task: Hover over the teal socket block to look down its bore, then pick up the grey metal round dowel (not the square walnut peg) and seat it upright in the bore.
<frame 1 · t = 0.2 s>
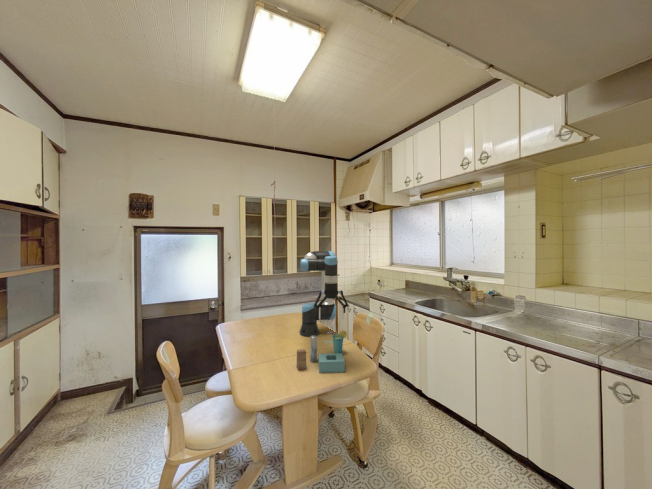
hand: (331, 318, 148), 27 cm above the table, fingers open, 13 cm apart
socket block: (331, 367, 143), on the table
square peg: (301, 367, 144), on the table
cup: (336, 353, 163), on the table
round dowel: (313, 360, 152), on the table
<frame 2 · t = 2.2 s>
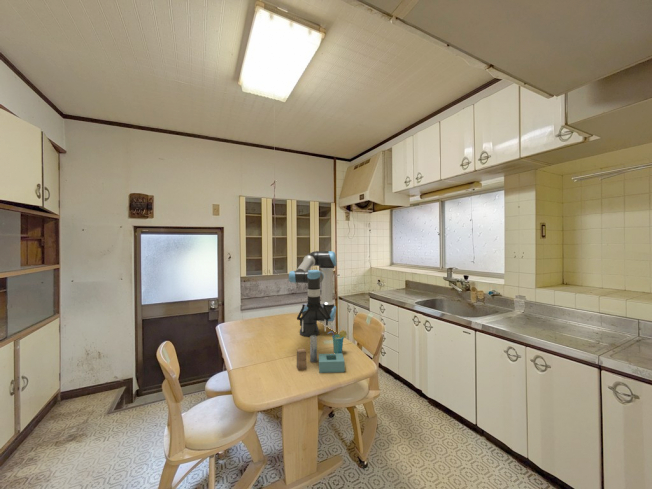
hand: (313, 330, 152), 18 cm above the table, fingers open, 13 cm apart
nothing on the table moved.
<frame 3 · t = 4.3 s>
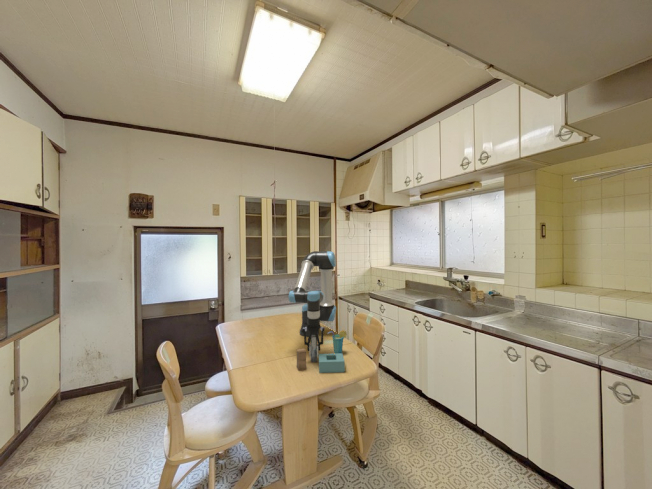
hand: (313, 355, 152), 3 cm above the table, fingers closed on round dowel, 4 cm apart
round dowel: (313, 360, 152), on the table, touching gripper
everything else where it was.
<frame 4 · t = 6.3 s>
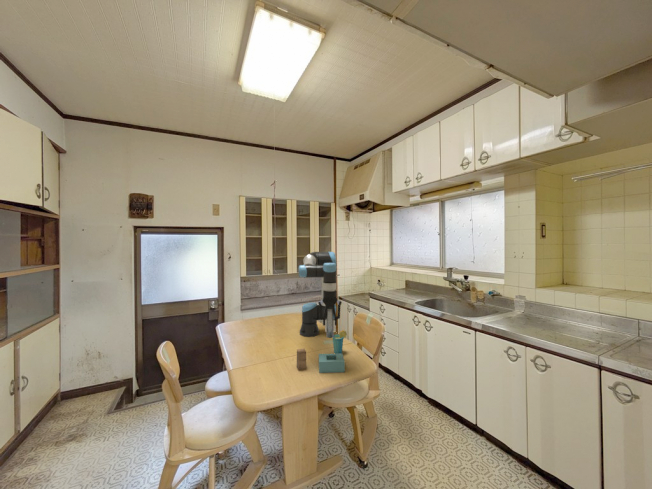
hand: (329, 330, 143), 21 cm above the table, fingers closed on round dowel, 4 cm apart
round dowel: (329, 336, 143), point 18 cm above the table, touching gripper
everything else where it was.
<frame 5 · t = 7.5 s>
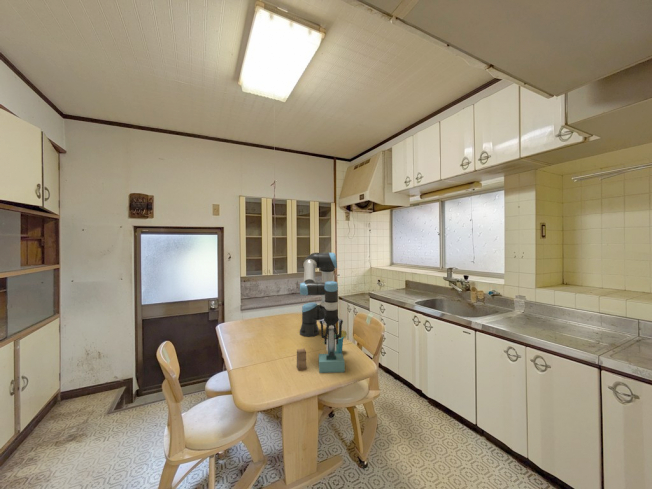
hand: (331, 349, 143), 10 cm above the table, fingers closed on round dowel, 4 cm apart
round dowel: (331, 355, 143), point 7 cm above the table, touching gripper
everything else where it was.
when the fingers open (7 cm above the table, at t = 8.4 s): round dowel drops 4 cm, resting in socket block.
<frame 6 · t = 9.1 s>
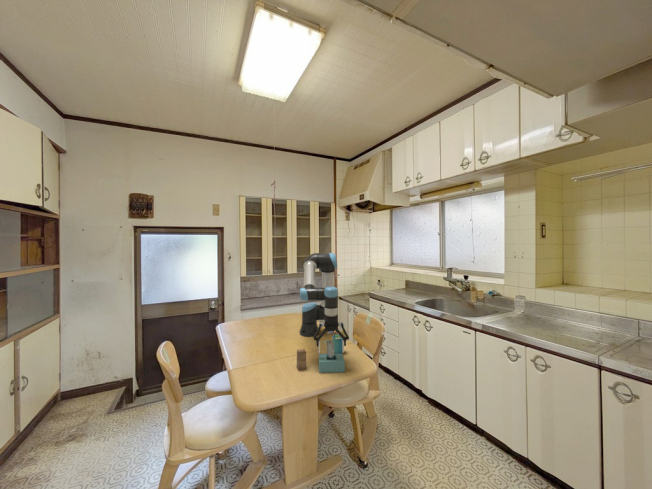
hand: (331, 351, 143), 9 cm above the table, fingers open, 13 cm apart
round dowel: (331, 367, 143), resting in socket block
everything else where it was.
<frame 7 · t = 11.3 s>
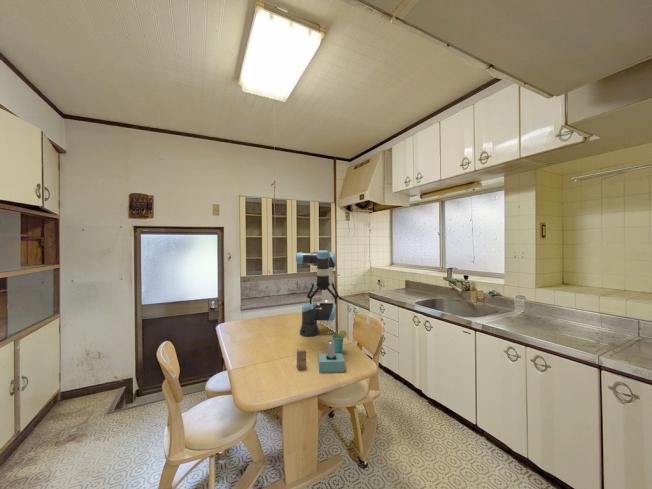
hand: (323, 308, 158), 30 cm above the table, fingers open, 13 cm apart
nothing on the table moved.
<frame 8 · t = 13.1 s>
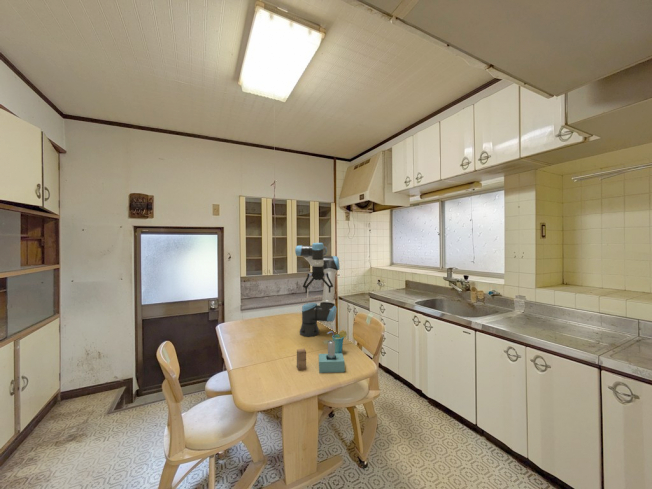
hand: (317, 297, 168), 35 cm above the table, fingers open, 13 cm apart
nothing on the table moved.
at the end: round dowel 0.0 cm off-centre on the socket block, point 0.0 cm above the socket block's base; round dowel tilted 1°; the gripper is holding nothing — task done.
